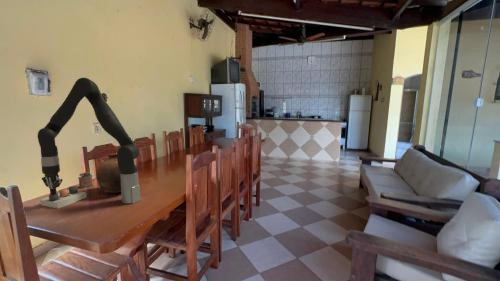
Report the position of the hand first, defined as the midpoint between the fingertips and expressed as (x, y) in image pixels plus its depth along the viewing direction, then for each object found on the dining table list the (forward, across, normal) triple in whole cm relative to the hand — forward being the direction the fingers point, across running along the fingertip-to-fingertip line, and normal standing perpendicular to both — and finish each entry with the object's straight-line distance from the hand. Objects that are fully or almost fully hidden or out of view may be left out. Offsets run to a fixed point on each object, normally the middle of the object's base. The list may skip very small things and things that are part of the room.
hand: (53, 194), depth 133 cm
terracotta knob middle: (+3, 0, -5) cm, 6 cm away
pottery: (+6, -15, -29) cm, 33 cm away
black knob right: (+2, 0, -11) cm, 11 cm away
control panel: (+6, 0, -5) cm, 8 cm away
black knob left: (+3, 0, 0) cm, 3 cm away
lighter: (+6, +10, -27) cm, 29 cm away
